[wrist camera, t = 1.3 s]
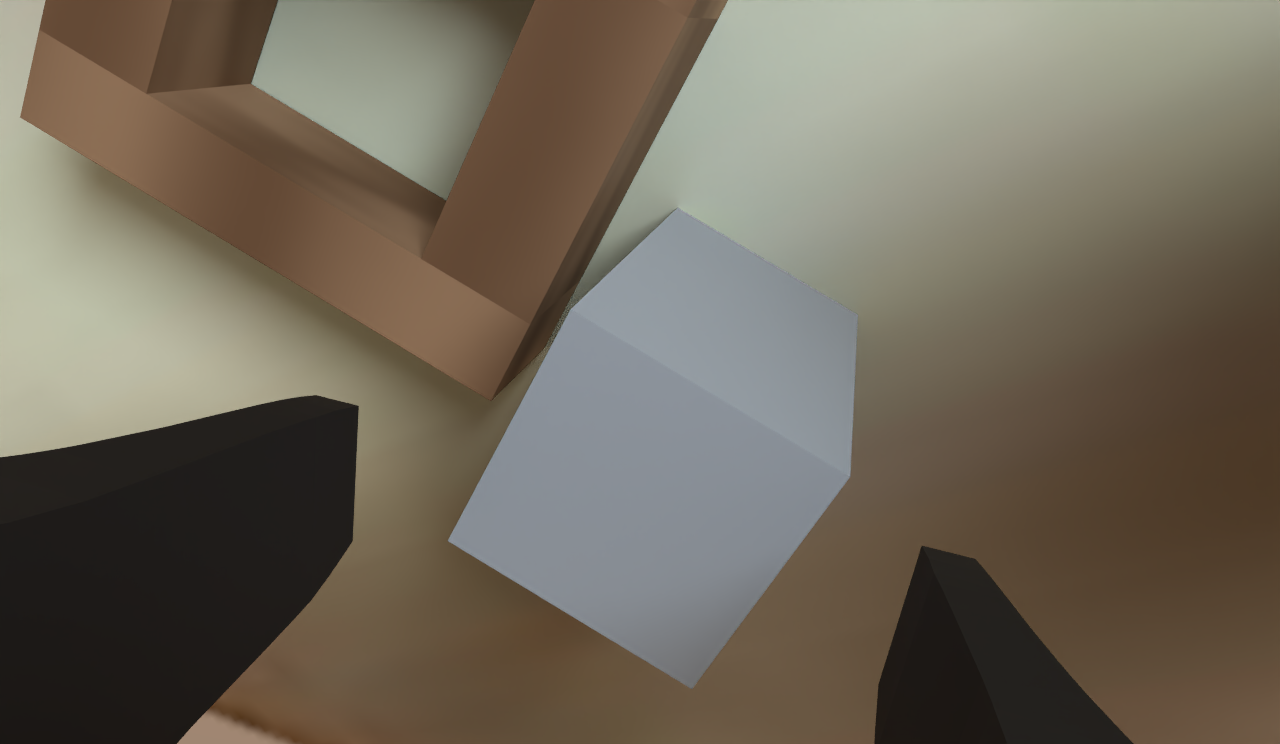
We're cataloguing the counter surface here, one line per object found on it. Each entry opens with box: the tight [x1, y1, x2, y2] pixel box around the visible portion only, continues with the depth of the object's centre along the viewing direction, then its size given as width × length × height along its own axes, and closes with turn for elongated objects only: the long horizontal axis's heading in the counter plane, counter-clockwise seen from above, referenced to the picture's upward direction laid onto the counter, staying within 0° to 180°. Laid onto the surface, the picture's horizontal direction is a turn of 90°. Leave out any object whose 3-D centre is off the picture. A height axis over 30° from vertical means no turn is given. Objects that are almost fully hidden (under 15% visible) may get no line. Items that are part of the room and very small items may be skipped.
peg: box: [448, 208, 858, 689], centre depth 16 cm, size 4×4×7 cm
